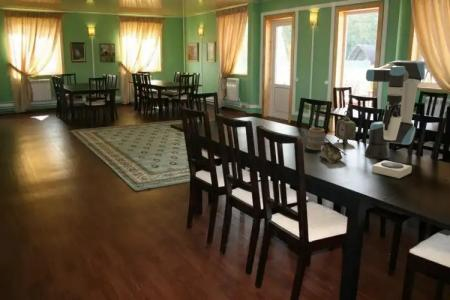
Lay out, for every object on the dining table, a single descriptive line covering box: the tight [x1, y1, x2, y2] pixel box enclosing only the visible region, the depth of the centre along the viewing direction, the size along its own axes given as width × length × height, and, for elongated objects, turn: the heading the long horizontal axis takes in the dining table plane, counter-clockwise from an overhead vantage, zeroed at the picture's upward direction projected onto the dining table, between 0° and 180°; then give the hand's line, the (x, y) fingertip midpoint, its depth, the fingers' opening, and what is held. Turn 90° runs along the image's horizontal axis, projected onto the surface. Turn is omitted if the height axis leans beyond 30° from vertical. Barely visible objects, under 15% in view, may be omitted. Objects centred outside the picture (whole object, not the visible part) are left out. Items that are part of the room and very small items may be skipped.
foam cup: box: [382, 115, 402, 140], centre depth 219 cm, size 10×9×13 cm
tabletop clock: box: [335, 110, 357, 146], centre depth 297 cm, size 14×9×25 cm, turn 14°
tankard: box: [305, 124, 326, 151], centre depth 285 cm, size 20×13×15 cm, turn 179°
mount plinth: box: [371, 160, 413, 179], centre depth 225 cm, size 16×16×4 cm
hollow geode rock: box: [320, 137, 348, 164], centre depth 253 cm, size 28×13×15 cm
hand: (390, 134), depth 220 cm, fingers closed on foam cup, 9 cm apart
